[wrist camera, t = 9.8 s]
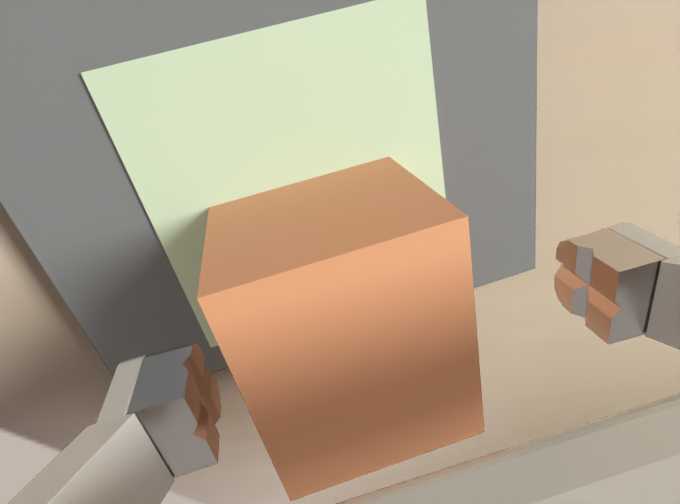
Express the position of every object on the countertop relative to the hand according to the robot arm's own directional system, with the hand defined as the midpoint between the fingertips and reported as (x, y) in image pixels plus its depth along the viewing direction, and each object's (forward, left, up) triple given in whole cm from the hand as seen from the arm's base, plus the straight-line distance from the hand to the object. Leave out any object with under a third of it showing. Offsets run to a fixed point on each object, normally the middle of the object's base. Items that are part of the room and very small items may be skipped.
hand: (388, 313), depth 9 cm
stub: (+1, +1, -4) cm, 4 cm away
